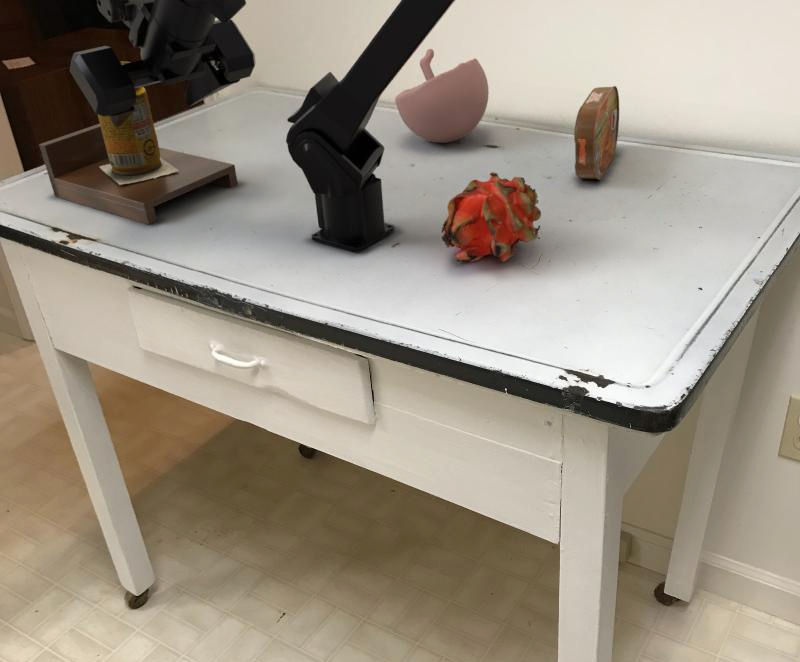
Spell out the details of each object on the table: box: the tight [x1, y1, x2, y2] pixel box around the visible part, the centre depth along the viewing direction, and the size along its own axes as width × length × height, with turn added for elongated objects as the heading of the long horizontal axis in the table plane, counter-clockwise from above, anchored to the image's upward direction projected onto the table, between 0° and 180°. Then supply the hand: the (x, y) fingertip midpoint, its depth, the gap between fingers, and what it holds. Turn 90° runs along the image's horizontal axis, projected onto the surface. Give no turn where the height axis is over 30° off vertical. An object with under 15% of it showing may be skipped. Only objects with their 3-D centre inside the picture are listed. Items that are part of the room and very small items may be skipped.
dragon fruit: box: [441, 171, 542, 263], centre depth 83 cm, size 8×8×12 cm
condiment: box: [96, 61, 178, 185], centre depth 100 cm, size 7×8×12 cm
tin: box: [573, 85, 620, 181], centre depth 100 cm, size 15×3×8 cm, turn 158°
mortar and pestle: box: [394, 48, 490, 144], centre depth 111 cm, size 12×12×12 cm
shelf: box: [39, 123, 239, 225], centre depth 103 cm, size 18×14×6 cm
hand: (152, 112), depth 96 cm, fingers open, 9 cm apart
